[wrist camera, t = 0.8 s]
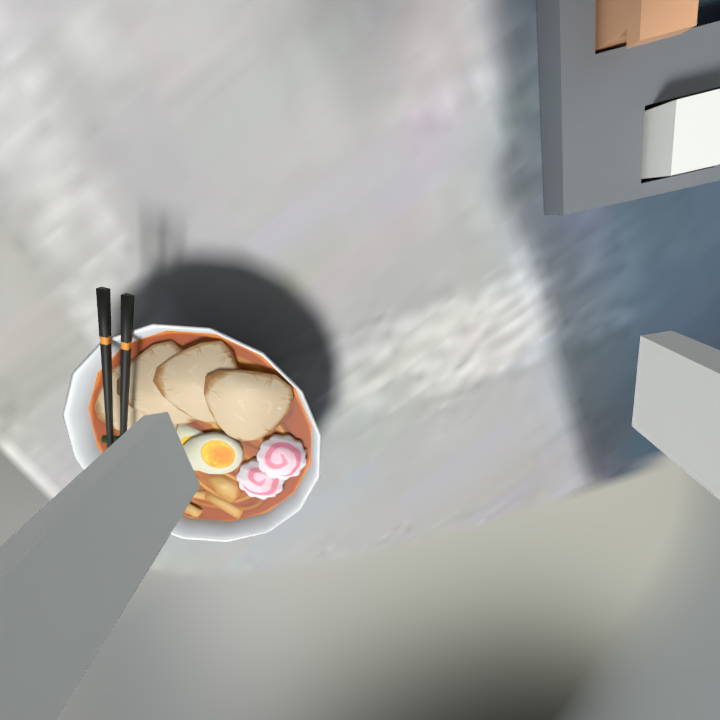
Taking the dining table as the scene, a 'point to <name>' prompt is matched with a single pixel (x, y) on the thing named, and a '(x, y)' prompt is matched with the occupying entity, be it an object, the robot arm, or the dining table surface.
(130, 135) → the dining table surface
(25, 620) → the robot arm
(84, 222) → the dining table surface
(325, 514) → the dining table surface
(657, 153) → the white button
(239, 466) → the ramen bowl
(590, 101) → the panel
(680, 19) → the orange slider knob
